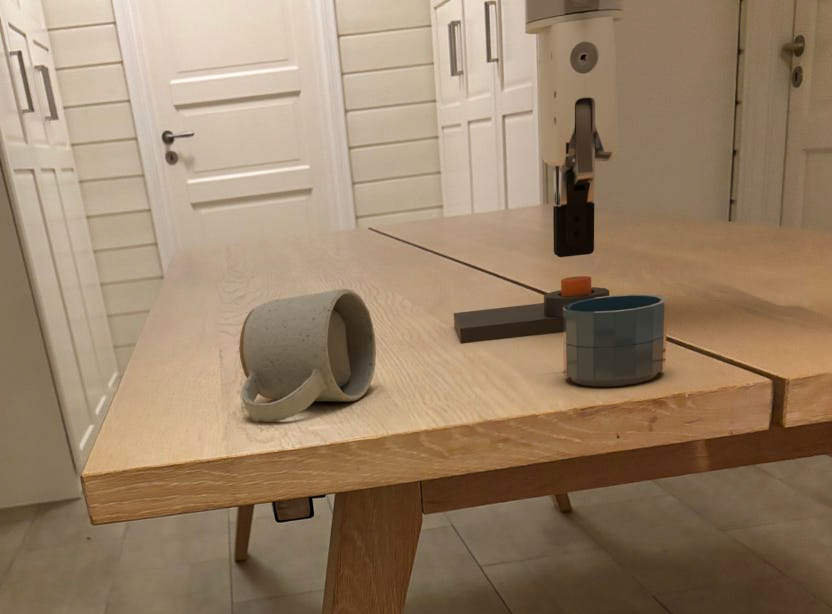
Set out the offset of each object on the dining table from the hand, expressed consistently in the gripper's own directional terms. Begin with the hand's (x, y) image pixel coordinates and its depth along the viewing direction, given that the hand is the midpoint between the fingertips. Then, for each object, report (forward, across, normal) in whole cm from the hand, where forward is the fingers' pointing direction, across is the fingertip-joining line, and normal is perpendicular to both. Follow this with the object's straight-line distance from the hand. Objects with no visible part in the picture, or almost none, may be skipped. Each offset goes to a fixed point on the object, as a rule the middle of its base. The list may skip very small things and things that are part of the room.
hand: (573, 254), depth 84 cm
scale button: (+4, 0, 0) cm, 4 cm away
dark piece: (+6, +2, +4) cm, 8 cm away
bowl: (+6, -21, +1) cm, 22 cm away
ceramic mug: (+6, -19, +23) cm, 30 cm away
